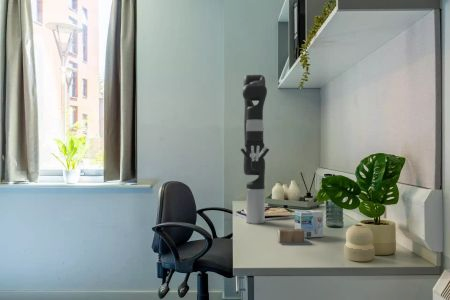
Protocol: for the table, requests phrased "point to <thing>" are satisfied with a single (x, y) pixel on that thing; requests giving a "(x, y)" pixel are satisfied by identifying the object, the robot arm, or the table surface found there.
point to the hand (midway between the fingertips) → (254, 169)
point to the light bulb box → (309, 222)
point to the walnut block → (290, 235)
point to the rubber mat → (298, 243)
